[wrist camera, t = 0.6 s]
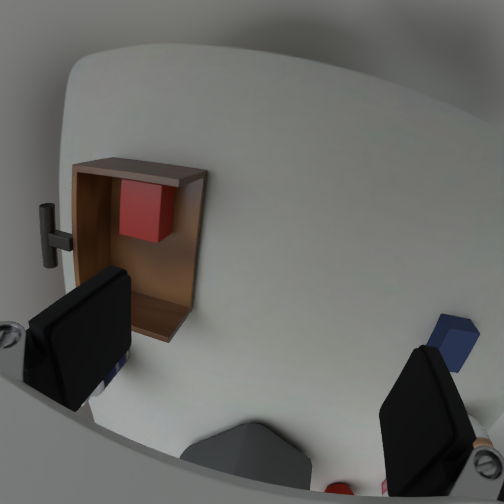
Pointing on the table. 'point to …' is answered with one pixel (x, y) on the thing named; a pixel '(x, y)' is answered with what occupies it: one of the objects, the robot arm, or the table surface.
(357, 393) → the table surface
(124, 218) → the block
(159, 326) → the drawer
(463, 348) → the block
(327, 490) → the apple
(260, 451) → the alarm clock
